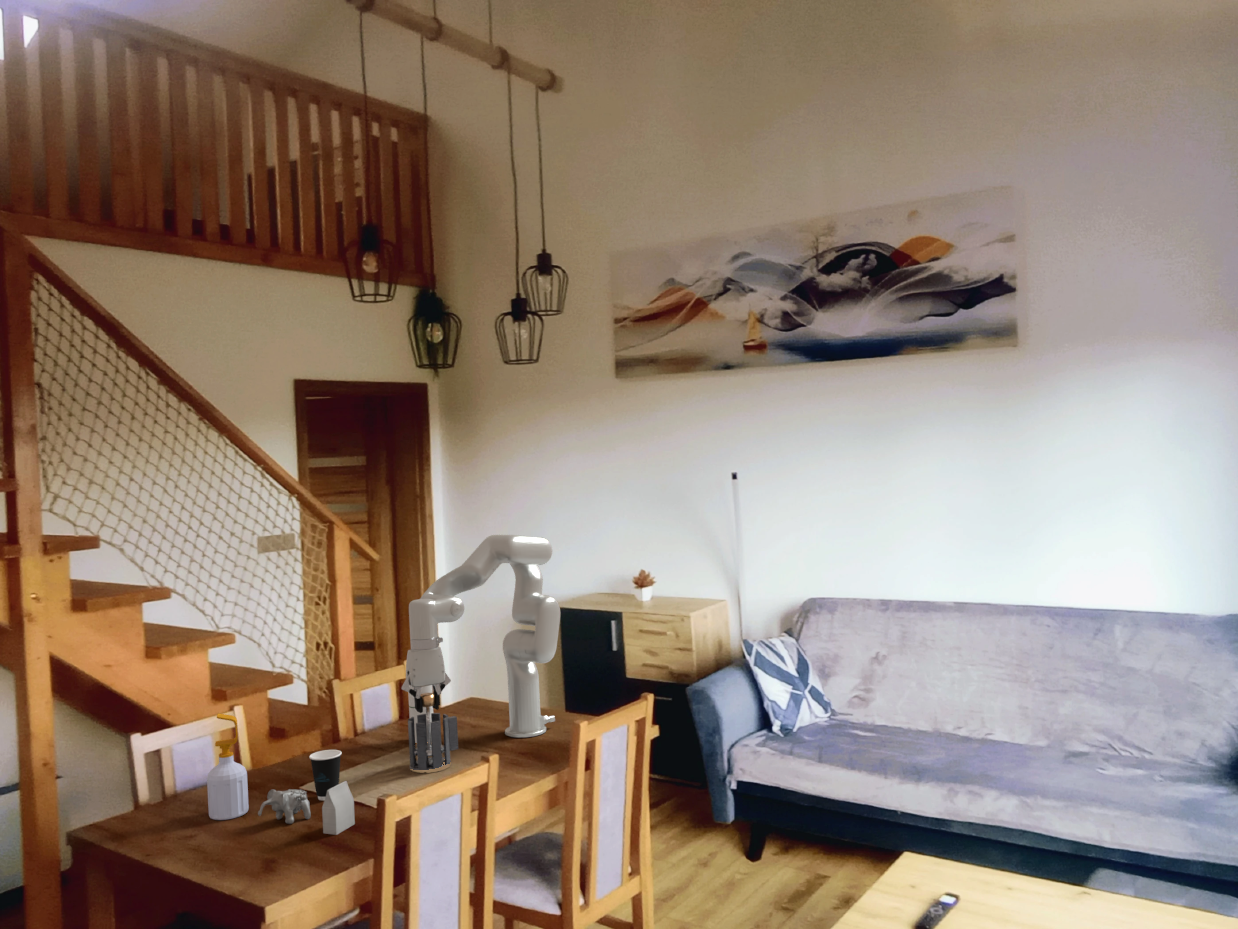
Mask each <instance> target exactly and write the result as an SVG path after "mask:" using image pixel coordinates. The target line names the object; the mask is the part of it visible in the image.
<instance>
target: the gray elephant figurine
mask: <svg viewBox="0 0 1238 929" xmlns="http://www.w3.org/2000/svg"><path fill="white" fill-rule="evenodd" d="M307 793H308V792H307V791H305V790H303V789H294V788H293V789H291V788H289V789H287V790H276V789H273V788H272V789H270V790H269V791H268V792H267V796H266V798H267V800H265V801H263V802H262V803H261V805H260V807H259V808H260V809H259V810H258V811H257V815H258V816H259V817H261V816H262V812H263V809H264V808H265V806H269V805H270V806H271V810H272V811H274V812H275V818H276V820H281V819H282V818H283V815H284V816H285V821H284V822H285V823H286V824H288V825H291V824H293V823H294V822H295V817H294V814H298V812H299V813H300V812H301V811H302V812H303V816H304V819H306V820H309V819H311V807H310V800H308V794H307Z"/></svg>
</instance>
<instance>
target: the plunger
mask: <svg viewBox="0 0 1238 929" xmlns="http://www.w3.org/2000/svg"><path fill="white" fill-rule="evenodd" d="M420 696H421V698H422V703H423V707H426V722H427V742H428V743H427V745H426V753H427V756H428V757H432V743H431V728H430V708H429V707H431V706H434V705H435V697H434V693H433V692H432V693H423V694H420ZM415 748H416V749H415V755H416V756H417V747H415ZM441 753H442V754H444V744H442V745H441Z"/></svg>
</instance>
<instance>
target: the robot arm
mask: <svg viewBox="0 0 1238 929" xmlns="http://www.w3.org/2000/svg"><path fill="white" fill-rule="evenodd" d="M552 555H553V547H552V544H551V542H550V541H549V540H548V539H546V538H545V537H542V536H541V537H540V536H525V535H519V534H518V535H517V534H491V535H489V536H487V537H486V538H484V539H483V540H482V541H481V543H480V544H479V545H478V547H477V548H475V550H474V551H473V552H472V553H471V554H470V555H469V557H468V558H467V559H466V560H465V561H464V562H463V563H462V564H461V565H459V566H458V567H456V568H454V569H452V570H451V571H450V572H447V573H446V574H444V575H442V576H441V577H439V578H437V580H435V581H434V582H432V583H431V585H430V586H429V587H428V588H427V589H426V591H424V593H423V594H422V595H421V597H420V598H419V599H413V600H412V601H410V602H409V604H408V615H409V616H408V620H409V621H408V622H409V638H410V639H409V640H410V641H409V642H410V649H408V650H407V655H406V660H405V662H406V663H405V680H404V682H403V684H402V685H401V690H402V691H404V692H407V693H408V692H409V693H410V694H411V695H412V696H413V697H414V699H415V709H416V710H417V711H418V712H420V713H422V712H423V703H422V698H421V696H420V694H421V687H423V686H429V685H432V693H434V697H435V705H434V706H432V707H433V710H440V706H441V698H440V695H441V694H442V692H443V690H444V689H445V688H446V687H447V685H449V684H450V683H451V682H452V680H451V678H450V677H449V675H448V674H447V673H446V668H445V661H444V656H443V651H442V649H441V647H440V643H443V642H444V639H443V637H439V633H438V630H439V629H438V624H440V623H443V624H444V623H453V622H457V621H459V619H461V618H462V616H463V614H464V612H465V604H464V602H463V600H462V599H461V598H459V597H458V596H457V595H459V594H461V593H465V592H467V591H468V592H469V591H471V590H474V589H477V588H479V587H482V586H483V585H485V584H486V582H487V581H488V580H489V578H490V577H491V576H492V575H493V574H494V572H496V570H497V569H498V568H499V567H500V566H501V565H502V564H509V565H510V566H511V568H512V570H513V572H514V577H515V581H514V582H515V584H514V591H513V598H512V599H513V601H512V609H511V613H512V614H511V617H512V619H513V621H514V622H515V623H516V624H519V625H523V626H532V627H534V630H532V629H522V628H521V629H520V628H518V629H513V630H510V631H509V632H507V633H506V635H505V636H504V638H503V640H502V651H503V656H504V660H505V664H506V672H507V674H506V675H507V692H508V695H507V696H508V713H509V716H508V717H509V726H507V727H506V729H504V734H505V736H508V737H510V738H521V739H522V738H531V737H537V736H540V735H542V734H545V733H546V731H547V726H546V724H547V723H552V722H553V723H554V722H556V718H555V717H556V716H555V714H554V715H549V716H548V715H542V714H541V701H540V699H541V698H540V697H541V696H540V679H539V678H540V677H539V671H538V668H537V665H536V664H546V663H549V662H551V661H552V659H553V658H554V657H555V655H556V651H557V648H558V646H557V645H558V641H559V640H558V639H559V631H560V624H561V608H560V603H559V602H558V601H557V599H556V598H555V597H553V596H551V595H546V594H543V584H544V583H543V581H544V579H543V574H542V571H541V569H540V567H539V566H543V565H546V564H547V563H548V562H549V561H550V560H551V558H552ZM409 685H411V686H412V687H414V688H413V689H411V688H409Z"/></svg>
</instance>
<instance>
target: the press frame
mask: <svg viewBox="0 0 1238 929" xmlns="http://www.w3.org/2000/svg"><path fill="white" fill-rule="evenodd" d="M431 719H432V722H430V723H431V745H432V756H427V753H426V745H428V743H427V725H426V714H421V715H417V723H416V736H417V744H415V728H414V717H411V718H410V717H409V718H408V719H407V728H408V729H407V730H408V731H407V732H408V747H409V748H408V751H409V752H408V754H409V770H410V769H413V770H429V769H435V768H439V767H442V766H443V765H444V764H443V762H445V765H447V764H450V762H451V763H452V759H451V751H452V752H453V751H456V750H459V734H458V733H459V730H458V716H455V715H452V716H449V715H448V714H446V713H442V726H441V712H433V713H431ZM441 727H442V728H441ZM442 730H443V731H442ZM442 733H443V735H442ZM442 736H443V744H442ZM441 745H443V746H444V752H443V753H441ZM416 748H417V755H415V749H416ZM443 754H444V757H443ZM444 759H445V760H444ZM442 764H443V765H442Z"/></svg>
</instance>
